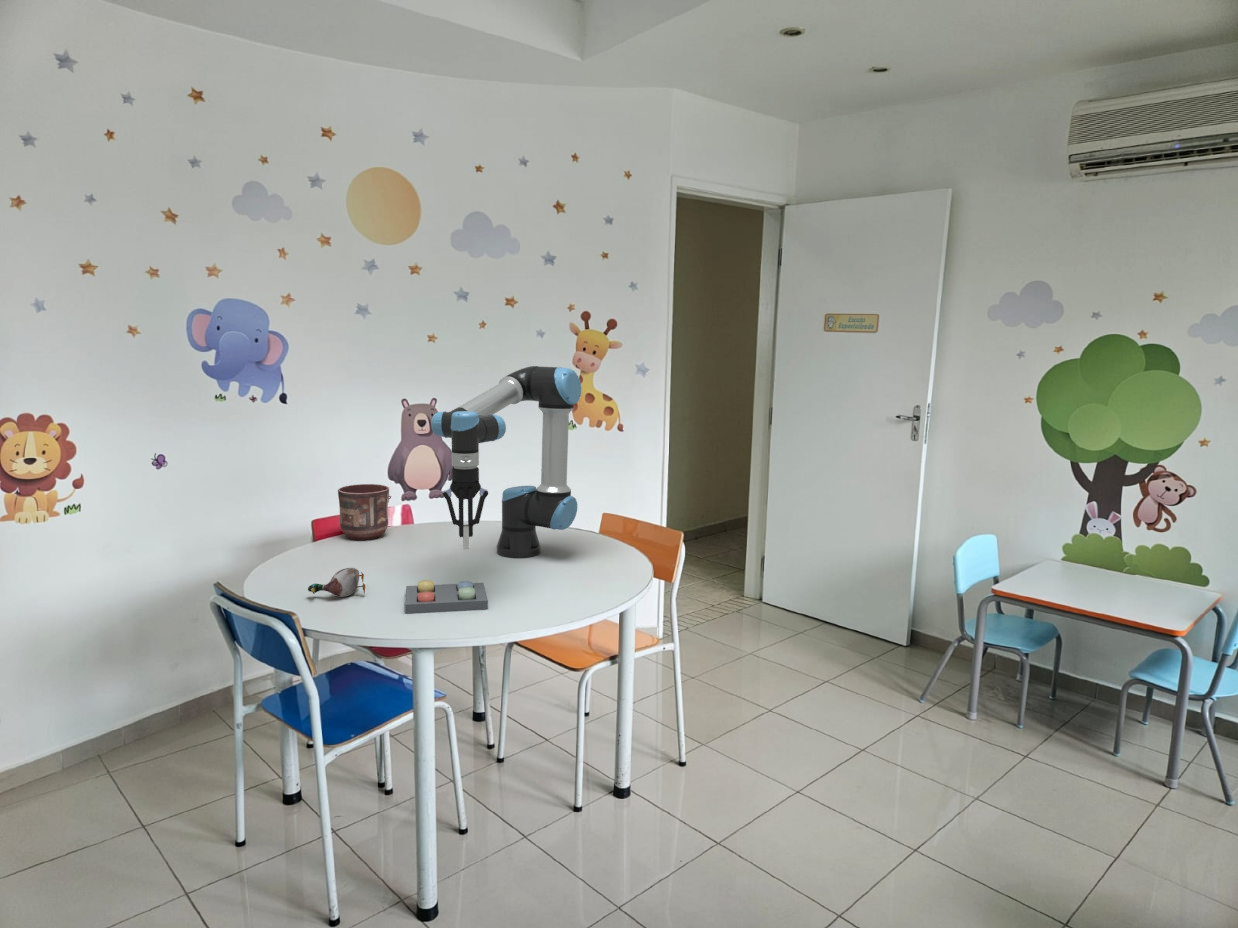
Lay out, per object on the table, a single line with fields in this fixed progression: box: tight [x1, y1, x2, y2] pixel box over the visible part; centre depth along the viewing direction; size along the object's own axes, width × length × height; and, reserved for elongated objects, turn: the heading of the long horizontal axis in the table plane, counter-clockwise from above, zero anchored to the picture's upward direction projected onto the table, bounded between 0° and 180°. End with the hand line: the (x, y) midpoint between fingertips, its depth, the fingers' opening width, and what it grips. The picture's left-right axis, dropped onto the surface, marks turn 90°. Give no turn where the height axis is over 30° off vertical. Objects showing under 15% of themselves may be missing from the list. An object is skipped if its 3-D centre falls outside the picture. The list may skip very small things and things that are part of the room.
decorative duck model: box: [307, 567, 366, 598], centre depth 224 cm, size 15×8×15 cm
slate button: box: [456, 580, 474, 591], centre depth 225 cm, size 4×4×3 cm
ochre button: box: [417, 579, 435, 593], centre depth 223 cm, size 4×4×3 cm
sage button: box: [459, 587, 475, 600], centre depth 218 cm, size 4×4×3 cm
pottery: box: [337, 483, 390, 541], centre depth 285 cm, size 18×18×18 cm
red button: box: [418, 591, 434, 602], centre depth 215 cm, size 4×4×3 cm
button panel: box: [404, 582, 489, 615], centre depth 220 cm, size 22×16×2 cm
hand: (466, 547), depth 224 cm, fingers closed
